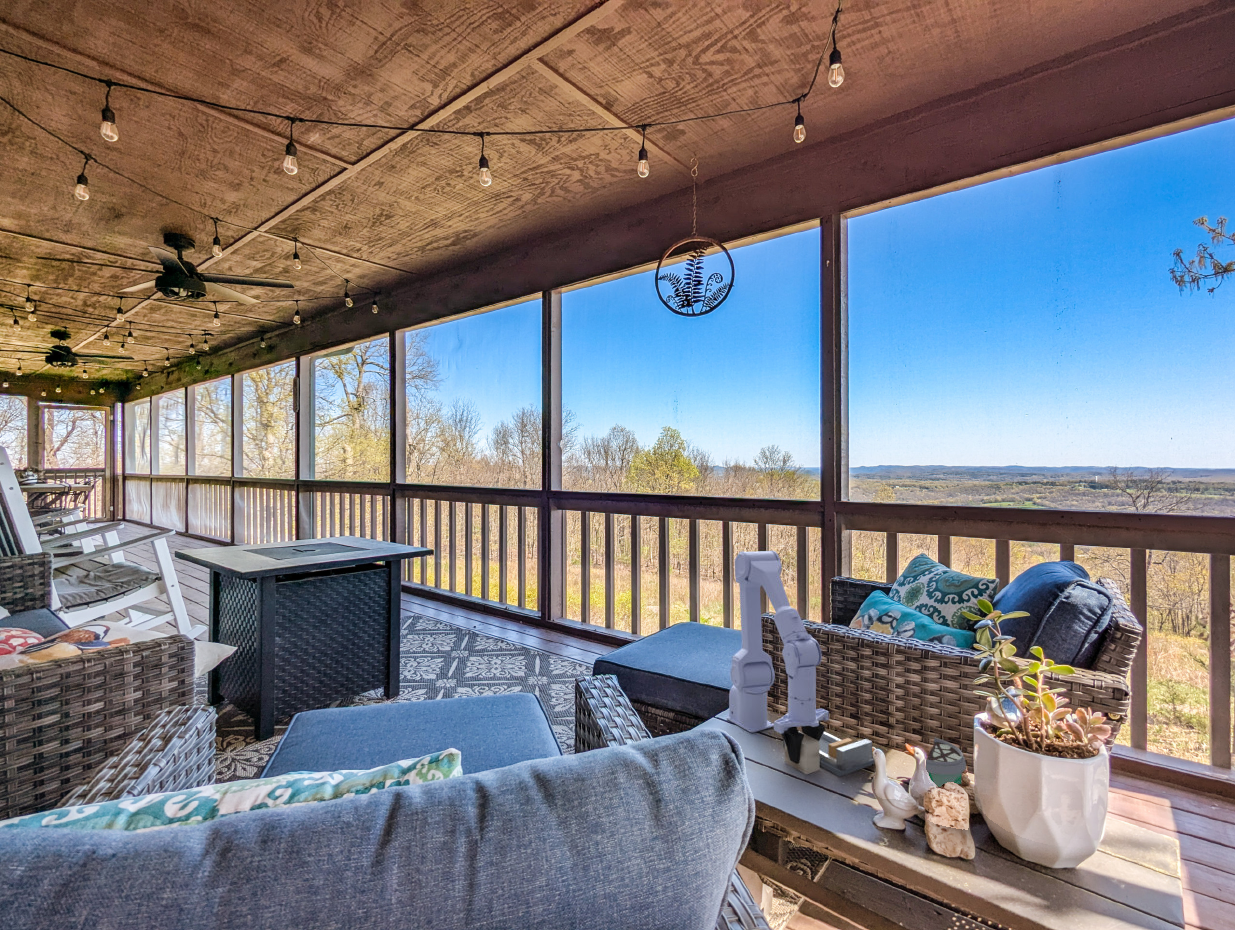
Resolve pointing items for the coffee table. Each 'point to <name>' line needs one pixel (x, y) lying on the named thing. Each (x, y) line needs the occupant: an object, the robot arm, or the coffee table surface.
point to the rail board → (845, 755)
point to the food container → (945, 763)
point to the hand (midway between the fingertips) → (801, 759)
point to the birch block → (806, 755)
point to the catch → (838, 746)
